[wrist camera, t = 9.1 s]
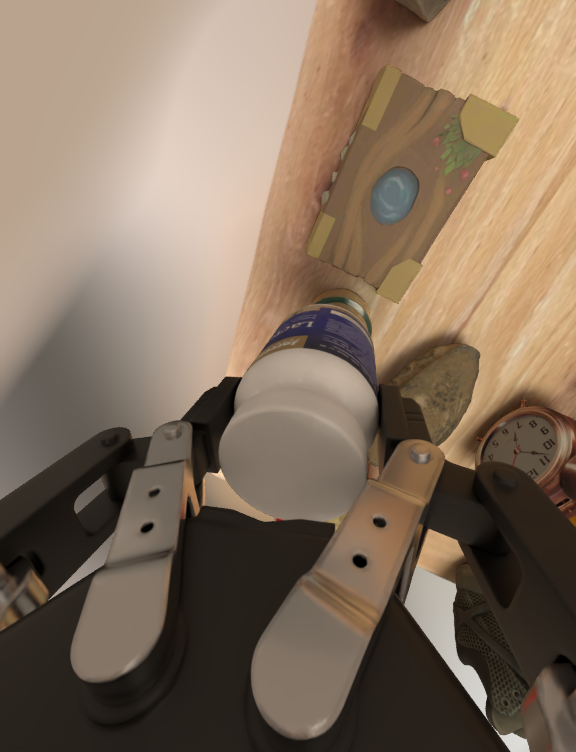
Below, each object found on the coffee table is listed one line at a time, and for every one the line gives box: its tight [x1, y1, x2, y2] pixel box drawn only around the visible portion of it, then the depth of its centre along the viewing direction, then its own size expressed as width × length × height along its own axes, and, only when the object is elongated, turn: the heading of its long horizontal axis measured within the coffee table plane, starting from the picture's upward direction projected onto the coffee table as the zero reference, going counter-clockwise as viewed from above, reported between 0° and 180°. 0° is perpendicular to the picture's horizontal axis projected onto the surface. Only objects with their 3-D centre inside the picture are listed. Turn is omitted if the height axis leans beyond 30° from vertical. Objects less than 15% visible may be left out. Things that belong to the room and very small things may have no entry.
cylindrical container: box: [311, 289, 372, 336], centre depth 32 cm, size 7×7×8 cm
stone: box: [368, 344, 480, 467], centre depth 34 cm, size 17×9×8 cm, turn 158°
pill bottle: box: [219, 304, 380, 522], centre depth 14 cm, size 6×6×10 cm
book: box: [305, 64, 520, 304], centre depth 27 cm, size 15×11×5 cm
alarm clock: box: [475, 399, 576, 519], centre depth 30 cm, size 11×5×15 cm, turn 152°
